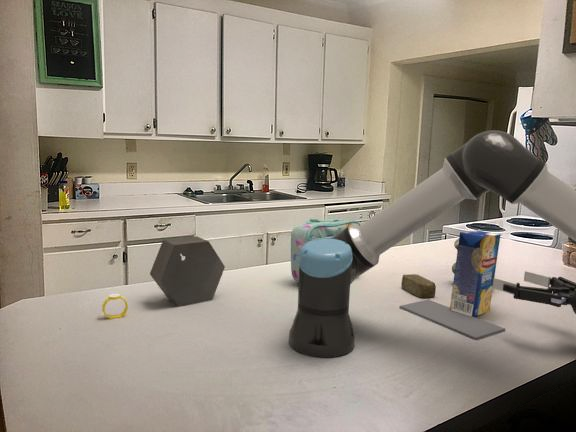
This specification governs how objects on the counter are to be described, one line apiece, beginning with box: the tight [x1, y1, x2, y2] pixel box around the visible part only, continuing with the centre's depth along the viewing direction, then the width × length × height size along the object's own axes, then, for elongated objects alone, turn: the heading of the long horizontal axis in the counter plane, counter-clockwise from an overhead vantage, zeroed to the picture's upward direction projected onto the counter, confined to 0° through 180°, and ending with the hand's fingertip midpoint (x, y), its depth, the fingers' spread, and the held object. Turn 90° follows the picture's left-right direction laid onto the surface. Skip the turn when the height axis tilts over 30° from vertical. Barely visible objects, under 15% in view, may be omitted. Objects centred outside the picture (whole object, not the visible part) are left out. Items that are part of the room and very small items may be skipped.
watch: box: [102, 293, 129, 320], centre depth 122 cm, size 6×3×6 cm, turn 120°
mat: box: [399, 298, 506, 341], centre depth 130 cm, size 12×25×1 cm, turn 33°
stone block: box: [401, 273, 437, 299], centre depth 151 cm, size 6×12×5 cm, turn 20°
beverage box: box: [449, 229, 502, 317], centre depth 134 cm, size 7×11×22 cm, turn 135°
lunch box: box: [290, 218, 361, 283], centre depth 159 cm, size 27×10×21 cm, turn 131°
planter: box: [149, 235, 226, 307], centre depth 136 cm, size 17×8×21 cm
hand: (509, 279), depth 125 cm, fingers open, 13 cm apart
